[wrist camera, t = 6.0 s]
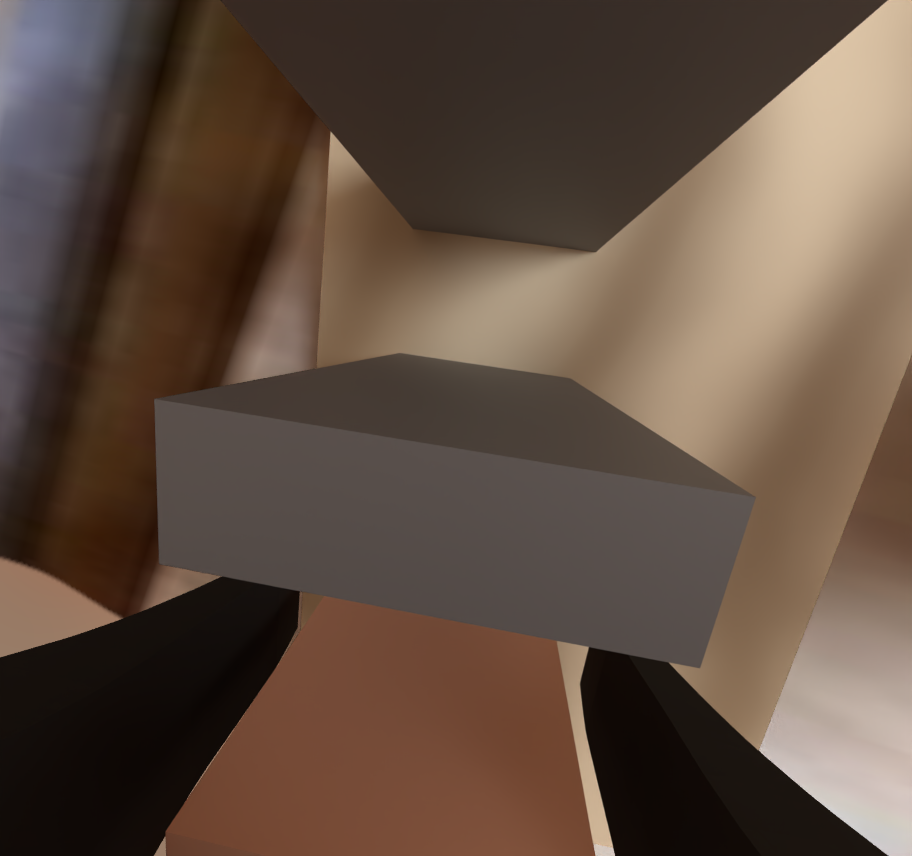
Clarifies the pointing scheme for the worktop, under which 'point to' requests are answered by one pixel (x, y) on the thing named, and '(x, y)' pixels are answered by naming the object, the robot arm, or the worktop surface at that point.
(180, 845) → the domino
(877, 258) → the birch board
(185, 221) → the worktop surface
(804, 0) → the domino
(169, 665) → the robot arm
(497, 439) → the domino
